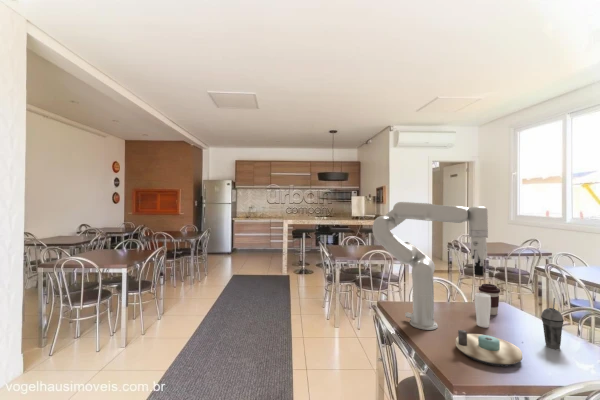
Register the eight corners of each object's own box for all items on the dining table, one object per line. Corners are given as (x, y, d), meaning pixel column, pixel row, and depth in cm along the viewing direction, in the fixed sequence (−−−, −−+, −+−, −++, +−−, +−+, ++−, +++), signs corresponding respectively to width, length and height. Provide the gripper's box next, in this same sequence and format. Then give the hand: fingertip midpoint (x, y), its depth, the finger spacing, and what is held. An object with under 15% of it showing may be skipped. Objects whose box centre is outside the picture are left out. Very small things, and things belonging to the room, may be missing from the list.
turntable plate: (468, 361, 108) (468, 343, 109) (447, 335, 130) (447, 320, 130) (536, 366, 105) (535, 347, 105) (503, 339, 127) (503, 323, 127)
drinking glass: (486, 323, 149) (486, 293, 149) (494, 329, 142) (493, 297, 142) (472, 323, 149) (471, 292, 150) (479, 328, 143) (478, 296, 143)
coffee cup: (504, 316, 158) (504, 287, 159) (485, 316, 159) (485, 287, 159) (493, 309, 168) (492, 282, 169) (475, 309, 168) (474, 282, 169)
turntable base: (456, 355, 117) (456, 351, 117) (467, 339, 130) (467, 336, 130) (512, 371, 105) (512, 367, 105) (518, 353, 118) (518, 349, 119)
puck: (483, 350, 114) (483, 342, 114) (475, 342, 121) (475, 334, 121) (503, 351, 113) (503, 343, 113) (494, 343, 120) (493, 335, 120)
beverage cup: (536, 343, 127) (535, 295, 128) (552, 342, 128) (551, 295, 128) (552, 351, 120) (551, 300, 120) (569, 350, 121) (568, 300, 121)
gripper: (484, 235, 128) (485, 278, 128) (490, 233, 139) (491, 273, 139) (464, 234, 133) (465, 276, 133) (472, 232, 144) (473, 270, 144)
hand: (478, 274), depth 136 cm, fingers closed
